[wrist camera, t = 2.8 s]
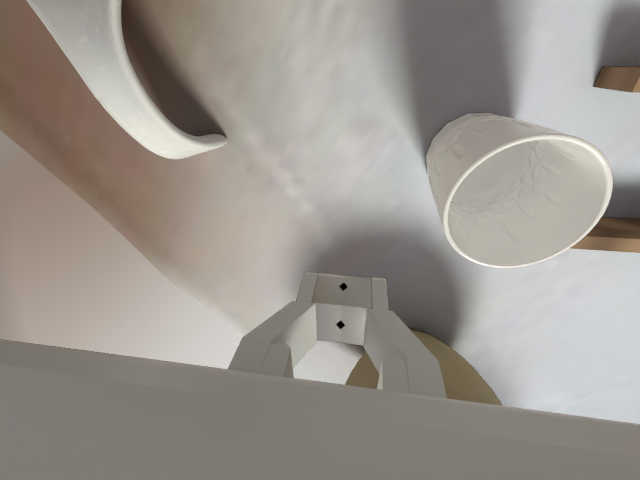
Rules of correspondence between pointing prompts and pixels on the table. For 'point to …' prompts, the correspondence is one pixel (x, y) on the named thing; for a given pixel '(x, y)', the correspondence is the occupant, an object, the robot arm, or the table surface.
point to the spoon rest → (115, 73)
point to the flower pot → (454, 370)
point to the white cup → (515, 189)
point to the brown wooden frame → (607, 230)
